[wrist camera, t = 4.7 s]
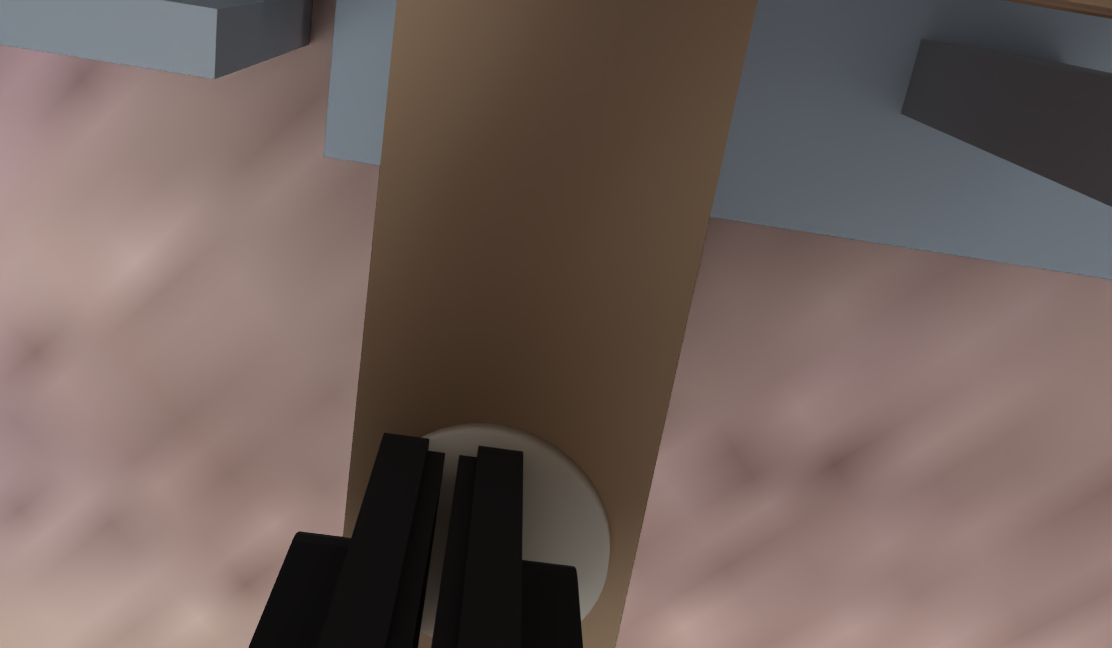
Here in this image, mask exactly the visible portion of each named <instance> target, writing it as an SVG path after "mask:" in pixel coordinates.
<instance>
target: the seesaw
mask: <svg viewBox="0 0 1112 648" xmlns="http://www.w3.org/2000/svg"><path fill="white" fill-rule="evenodd" d="M757 1H758V0H397V2H396V12H395V22H394V32H393V42H392V52H391V62H390V72H389V82H388V92H387V102H386V112H385V122H384V132H383V142H382V152H381V162H380V172H379V182H378V192H377V202H376V212H375V222H374V232H373V242H372V252H371V262H370V272H369V282H368V292H367V302H366V312H365V322H364V332H363V342H362V352H361V362H360V372H359V382H358V392H357V402H356V412H355V422H354V432H353V442H352V452H351V462H350V472H349V482H348V492H347V502H346V512H345V522H344V531H343V537H347V538H351V537H352V534H353V530H354V527H355V524H356V521H357V518H358V514H359V511H360V508H361V505H362V501H363V498H364V495H365V492H366V488H367V485H368V482H369V479H370V476H371V472H372V469H373V466H374V463H375V459H376V456H377V453H378V450H379V447H380V443H381V440H382V437H383V434H384V433H391V434H398V435H406V436H413V437H421V438H428V439H429V449H428V451H435V452H443V453H445V460H444V468H443V475H442V482H441V489H440V496H439V503H438V510H437V517H436V524H435V531H434V538H433V545H432V553H431V560H430V567H429V574H428V581H427V588H426V595H425V602H424V609H423V616H422V623H421V631H420V638H419V645H418V648H431V645H432V638H433V631H434V624H435V617H436V610H437V604H438V597H439V590H440V583H441V576H442V570H443V563H444V556H445V549H446V542H447V535H448V529H449V522H450V515H451V508H452V501H453V494H454V488H455V481H456V474H457V467H458V460H459V455H464V456H472V457H477V451H478V446H487V447H494V448H502V449H509V450H516V451H523V531H522V560H528V561H536V562H544V563H552V564H560V565H568V566H574V567H575V568H576V570H577V576H578V589H579V601H580V614H581V627H582V640H583V648H615V646H616V642H617V637H618V633H619V628H620V624H621V619H622V614H623V610H624V605H625V601H626V596H627V592H628V587H629V583H630V578H631V574H632V569H633V565H634V560H635V555H636V551H637V546H638V542H639V537H640V533H641V528H642V524H643V519H644V515H645V510H646V505H647V501H648V496H649V492H650V487H651V483H652V478H653V474H654V469H655V465H656V460H657V455H658V451H659V446H660V442H661V437H662V433H663V428H664V424H665V419H666V415H667V410H668V406H669V401H670V396H671V392H672V387H673V383H674V378H675V374H676V369H677V365H678V360H679V356H680V351H681V346H682V342H683V337H684V333H685V328H686V324H687V319H688V315H689V310H690V306H691V301H692V297H693V292H694V287H695V283H696V278H697V274H698V269H699V265H700V260H701V256H702V251H703V247H704V242H705V237H706V233H707V228H708V224H709V219H710V215H711V210H712V206H713V201H714V197H715V192H716V187H717V183H718V178H719V174H720V169H721V165H722V160H723V156H724V151H725V147H726V142H727V138H728V133H729V128H730V124H731V119H732V115H733V110H734V106H735V101H736V97H737V92H738V88H739V83H740V78H741V74H742V69H743V65H744V60H745V56H746V51H747V47H748V42H749V38H750V33H751V28H752V24H753V19H754V15H755V10H756V6H757ZM1003 1H1009V2H1015V3H1020V4H1026V5H1032V6H1038V7H1044V8H1050V9H1056V10H1062V11H1068V12H1074V13H1079V14H1085V15H1091V16H1097V17H1103V18H1109V19H1112V0H1003Z"/></svg>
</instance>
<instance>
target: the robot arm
mask: <svg viewBox="0 0 1112 648" xmlns="http://www.w3.org/2000/svg"><path fill="white" fill-rule="evenodd" d="M428 449H429V439H428V438H421V437H413V436H406V435H398V434H391V433H384V434H383V437H382V440H381V443H380V447H379V450H378V453H377V456H376V459H375V463H374V466H373V469H372V472H371V476H370V479H369V482H368V485H367V488H366V492H365V495H364V498H363V501H362V505H361V508H360V511H359V514H358V518H357V521H356V524H355V527H354V530H353V534H352V537H351V538H347V537H339V536H331V535H323V534H315V533H307V532H297V533H296V535H295V537H294V539H293V540H292V543H291V545H290V548H289V550H288V553H287V555H286V558H285V560H284V562H283V565H282V567H281V570H280V572H279V575H278V577H277V579H276V582H275V584H274V587H273V589H272V592H271V594H270V597H269V599H268V601H267V604H266V606H265V609H264V611H263V614H262V616H261V618H260V621H259V623H258V626H257V628H256V631H255V633H254V636H253V638H252V640H251V643H250V645H249V648H418V645H419V638H420V631H421V623H422V616H423V609H424V602H425V595H426V588H427V581H428V574H429V567H430V560H431V553H432V545H433V538H434V531H435V524H436V517H437V510H438V503H439V496H440V489H441V482H442V475H443V468H444V460H445V453H443V452H435V451H428ZM522 531H523V451H516V450H509V449H502V448H494V447H487V446H478V451H477V457H472V456H464V455H459V460H458V467H457V474H456V481H455V488H454V494H453V501H452V508H451V515H450V522H449V529H448V535H447V542H446V549H445V556H444V563H443V570H442V576H441V583H440V590H439V597H438V604H437V610H436V617H435V624H434V631H433V638H432V645H431V648H583V640H582V627H581V614H580V601H579V589H578V576H577V570H576V568H575V567H574V566H568V565H560V564H552V563H544V562H536V561H528V560H522Z"/></svg>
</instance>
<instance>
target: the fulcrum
mask: <svg viewBox="0 0 1112 648" xmlns="http://www.w3.org/2000/svg"><path fill="white" fill-rule="evenodd" d="M396 2H397V0H336V9H335V21H334V34H333V46H332V59H331V71H330V84H329V96H328V109H327V121H326V134H325V146H324V157H328V158H335V159H341V160H347V161H354V162H360V163H367V164H373V165H380V162H381V152H382V142H383V132H384V122H385V112H386V102H387V92H388V82H389V72H390V62H391V52H392V42H393V32H394V22H395V12H396ZM710 217H713V218H719V219H725V220H732V221H738V222H745V223H751V224H757V225H764V226H770V227H777V228H783V229H789V230H796V231H802V232H809V233H815V234H821V235H828V236H834V237H841V238H847V239H853V240H860V241H866V242H873V243H879V244H886V245H892V246H898V247H905V248H911V249H918V250H924V251H930V252H937V253H943V254H950V255H956V256H962V257H969V258H975V259H982V260H988V261H994V262H1001V263H1007V264H1014V265H1020V266H1026V267H1033V268H1039V269H1046V270H1052V271H1058V272H1065V273H1071V274H1078V275H1084V276H1090V277H1097V278H1103V279H1110V280H1112V19H1109V18H1103V17H1097V16H1091V15H1085V14H1079V13H1074V12H1068V11H1062V10H1056V9H1050V8H1044V7H1038V6H1032V5H1026V4H1020V3H1015V2H1009V1H1003V0H758V1H757V6H756V10H755V15H754V19H753V24H752V28H751V33H750V38H749V42H748V47H747V51H746V56H745V60H744V65H743V69H742V74H741V78H740V83H739V88H738V92H737V97H736V101H735V106H734V110H733V115H732V119H731V124H730V128H729V133H728V138H727V142H726V147H725V151H724V156H723V160H722V165H721V169H720V174H719V178H718V183H717V187H716V192H715V197H714V201H713V206H712V210H711V215H710Z"/></svg>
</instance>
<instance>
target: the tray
mask: <svg viewBox="0 0 1112 648" xmlns="http://www.w3.org/2000/svg"><path fill="white" fill-rule="evenodd" d="M311 11H312V0H0V45H4V46H10V47H17V48H23V49H29V50H35V51H42V52H48V53H54V54H60V55H67V56H73V57H79V58H85V59H92V60H98V61H104V62H110V63H117V64H123V65H129V66H135V67H142V68H148V69H154V70H160V71H167V72H173V73H179V74H185V75H192V76H198V77H204V78H210V79H216V78H219V77H222V76H224V75H227V74H230V73H232V72H235V71H238V70H241V69H243V68H246V67H249V66H251V65H254V64H257V63H259V62H262V61H265V60H268V59H270V58H273V57H276V56H278V55H281V54H284V53H287V52H289V51H292V50H295V49H297V48H300V47H303V46H306V45H308V44H309V38H310V25H311Z"/></svg>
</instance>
